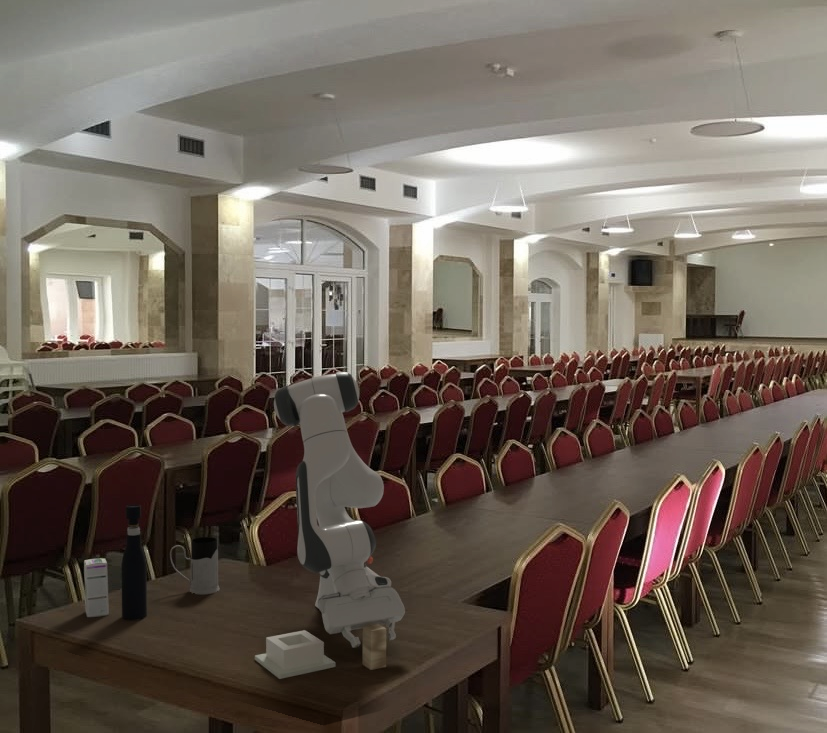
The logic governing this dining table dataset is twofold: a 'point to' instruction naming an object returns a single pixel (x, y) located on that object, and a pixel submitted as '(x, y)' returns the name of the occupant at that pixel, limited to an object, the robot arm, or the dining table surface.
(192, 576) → the grey mug
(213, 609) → the dining table surface
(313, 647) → the white socket base
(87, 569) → the syrup box
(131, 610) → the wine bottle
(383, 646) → the tan tall wooden block
